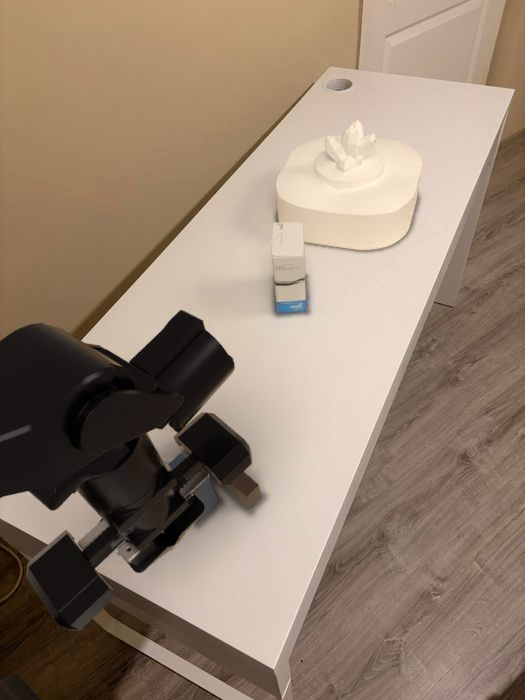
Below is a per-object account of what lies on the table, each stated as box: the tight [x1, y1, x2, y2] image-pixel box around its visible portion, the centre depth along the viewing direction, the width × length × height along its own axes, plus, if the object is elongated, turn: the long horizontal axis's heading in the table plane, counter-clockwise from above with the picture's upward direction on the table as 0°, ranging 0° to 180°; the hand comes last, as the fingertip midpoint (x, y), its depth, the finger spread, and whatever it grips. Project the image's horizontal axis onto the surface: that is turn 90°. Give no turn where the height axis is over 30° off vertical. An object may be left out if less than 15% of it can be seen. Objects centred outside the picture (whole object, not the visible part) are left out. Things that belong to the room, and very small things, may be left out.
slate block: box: [167, 452, 219, 524], centre depth 59 cm, size 7×5×8 cm
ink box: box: [270, 221, 307, 314], centre depth 78 cm, size 8×5×12 cm, turn 179°
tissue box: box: [275, 118, 424, 251], centre depth 90 cm, size 25×25×16 cm
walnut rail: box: [225, 471, 262, 511], centre depth 62 cm, size 2×12×4 cm, turn 46°
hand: (171, 542), depth 46 cm, fingers closed
